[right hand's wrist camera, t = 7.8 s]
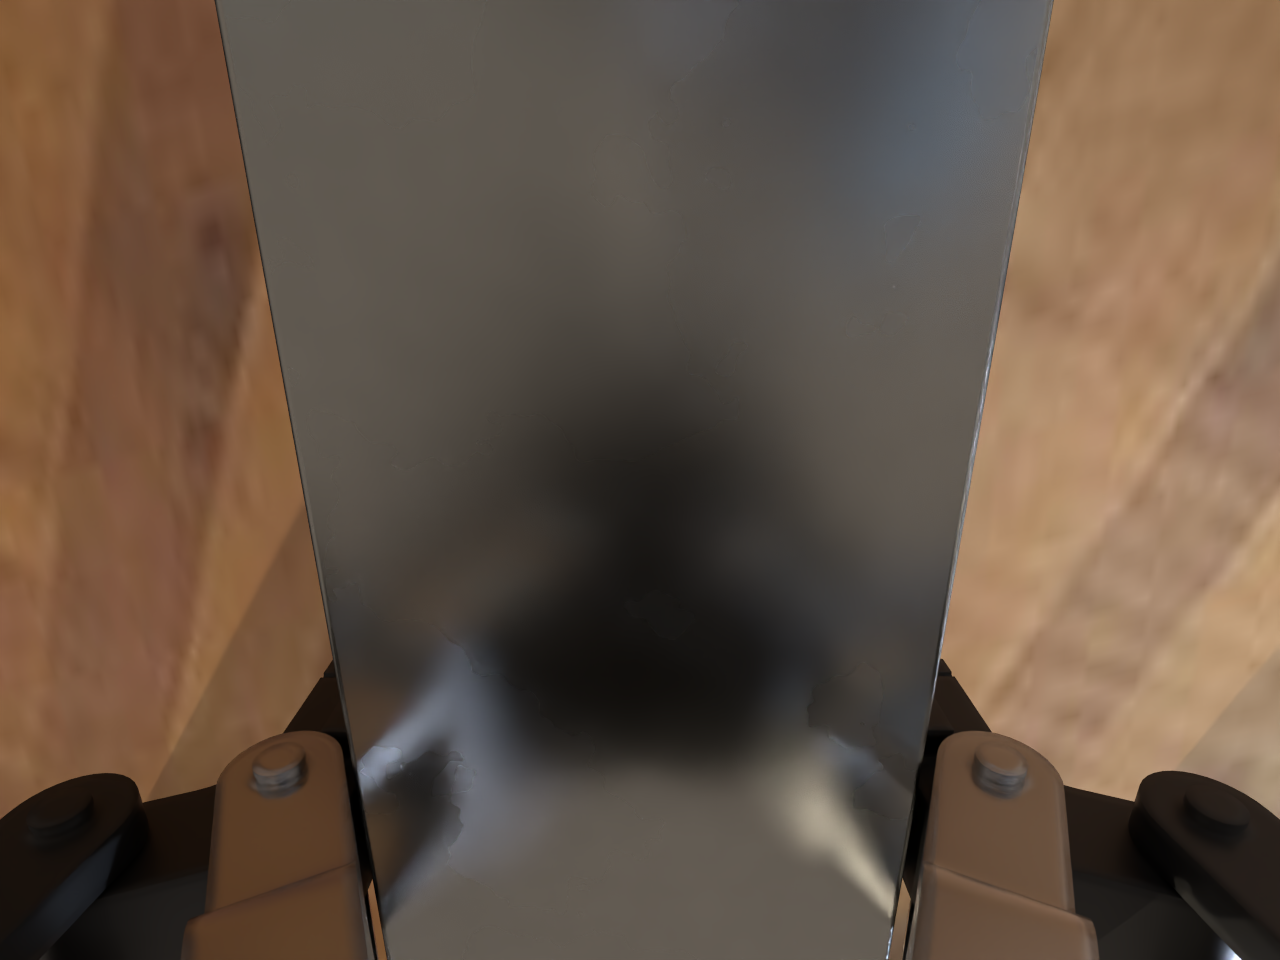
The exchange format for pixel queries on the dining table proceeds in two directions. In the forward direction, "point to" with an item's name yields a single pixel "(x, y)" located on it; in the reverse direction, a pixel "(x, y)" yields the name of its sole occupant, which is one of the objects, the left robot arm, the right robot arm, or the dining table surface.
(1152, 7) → the dining table surface
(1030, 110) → the box
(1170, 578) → the dining table surface
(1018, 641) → the dining table surface
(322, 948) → the right robot arm
